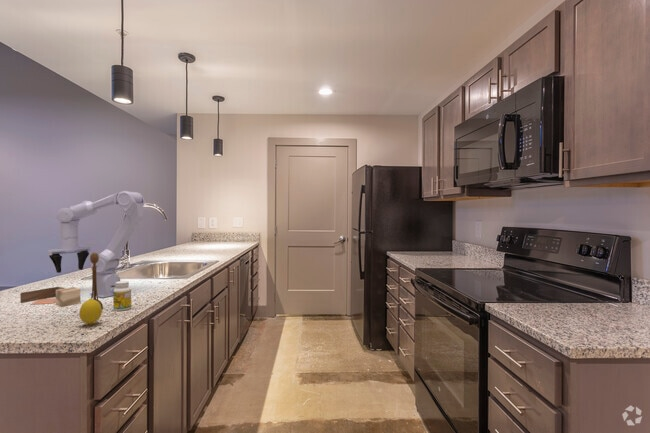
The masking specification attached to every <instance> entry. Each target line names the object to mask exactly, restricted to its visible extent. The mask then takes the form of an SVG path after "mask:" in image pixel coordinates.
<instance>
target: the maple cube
mask: <svg viewBox="0 0 650 433" xmlns="http://www.w3.org/2000/svg"><path fill="white" fill-rule="evenodd" d="M64 288H65V289H59V290H56V297H55V298H56V302H55V306H59V307H61V308H65V307H70V306H74V305H79V304H81V302H82V301H81V300H82V299H81V296H82V295H81V288H78V287H73V286H72V287H64Z"/></svg>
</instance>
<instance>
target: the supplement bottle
mask: <svg viewBox="0 0 650 433" xmlns="http://www.w3.org/2000/svg"><path fill="white" fill-rule="evenodd" d="M129 284H130V281H128V280H120V281H119V282H116V283H115V286H116V288H115V289H114V290H113V296H112V297H113V300H112V301H113V310H114V311H116V312H123V311H128V310H130V309H131V308H132V288H131V287H130V286H129Z"/></svg>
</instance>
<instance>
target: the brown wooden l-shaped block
mask: <svg viewBox="0 0 650 433" xmlns="http://www.w3.org/2000/svg"><path fill="white" fill-rule="evenodd" d="M65 288H66V287H62V286H53V287H48V288H42V289H36V290H31V291H30V290H29V291H24V292H20V300H19V301H20V303H21V304H25V303H28V302H35V301H38V300H40V299H51V298H54V297H55V298H56V290H59V289H65Z"/></svg>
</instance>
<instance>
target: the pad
mask: <svg viewBox="0 0 650 433" xmlns="http://www.w3.org/2000/svg"><path fill="white" fill-rule="evenodd" d="M54 303H55V304H56V297H55V298H54V297H51V298H45V299H40V300H35V301H33V302H32V303H30V304H29V305H33V306H34V305H46V304H54Z"/></svg>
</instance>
